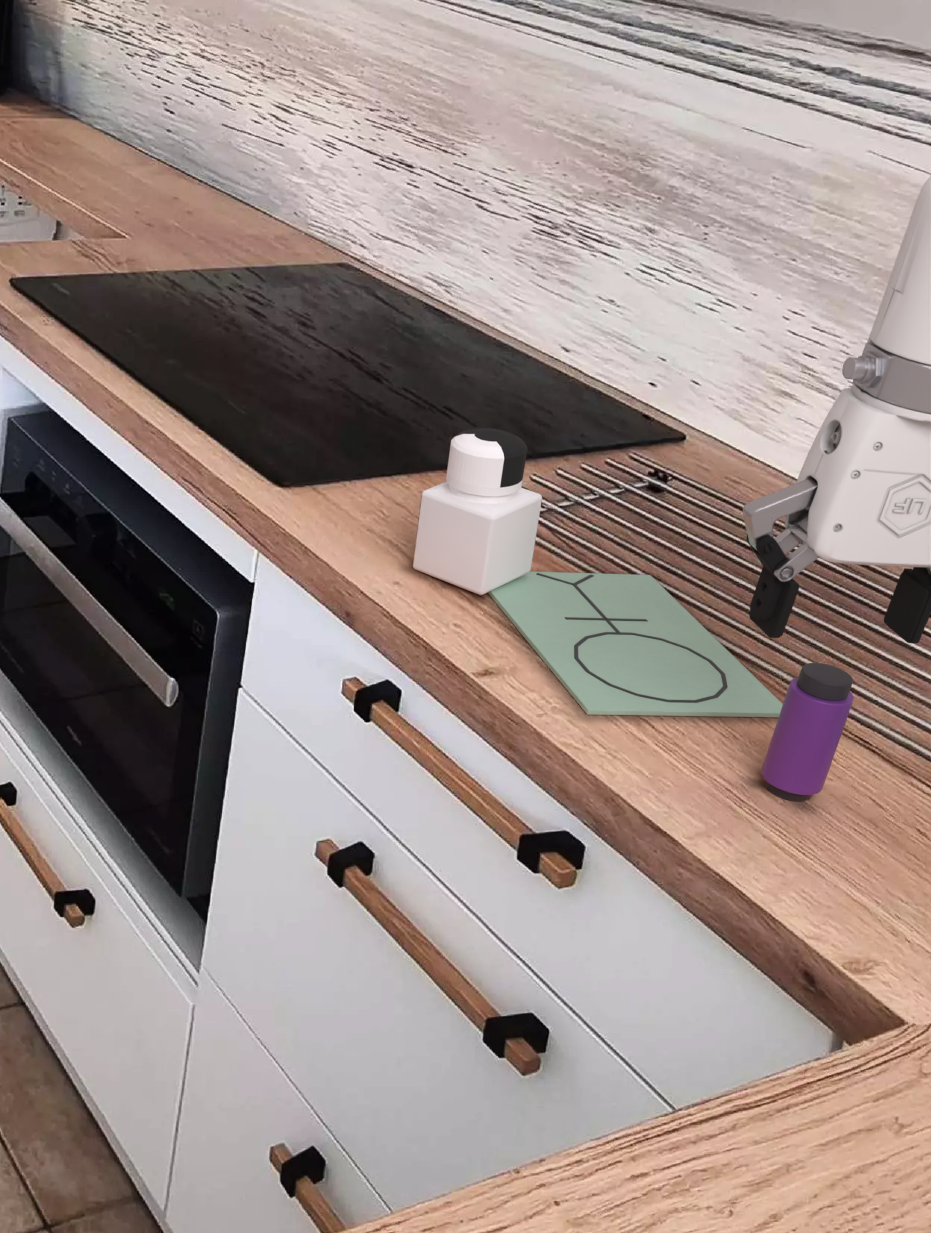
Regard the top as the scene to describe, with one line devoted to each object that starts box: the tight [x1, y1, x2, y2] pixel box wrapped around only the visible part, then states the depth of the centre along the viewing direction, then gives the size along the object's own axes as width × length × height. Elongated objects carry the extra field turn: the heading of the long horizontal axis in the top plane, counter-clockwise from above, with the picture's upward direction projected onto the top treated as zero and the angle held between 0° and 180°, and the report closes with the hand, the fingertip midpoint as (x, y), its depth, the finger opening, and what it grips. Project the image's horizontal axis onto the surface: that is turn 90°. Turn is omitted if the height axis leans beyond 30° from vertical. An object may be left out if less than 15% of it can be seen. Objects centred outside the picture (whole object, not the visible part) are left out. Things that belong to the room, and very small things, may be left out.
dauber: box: [760, 662, 855, 802], centre depth 118 cm, size 4×4×9 cm
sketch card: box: [486, 571, 783, 718], centre depth 139 cm, size 24×16×1 cm, turn 8°
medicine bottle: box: [412, 427, 543, 596], centre depth 145 cm, size 7×7×12 cm
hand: (832, 631), depth 115 cm, fingers open, 9 cm apart
